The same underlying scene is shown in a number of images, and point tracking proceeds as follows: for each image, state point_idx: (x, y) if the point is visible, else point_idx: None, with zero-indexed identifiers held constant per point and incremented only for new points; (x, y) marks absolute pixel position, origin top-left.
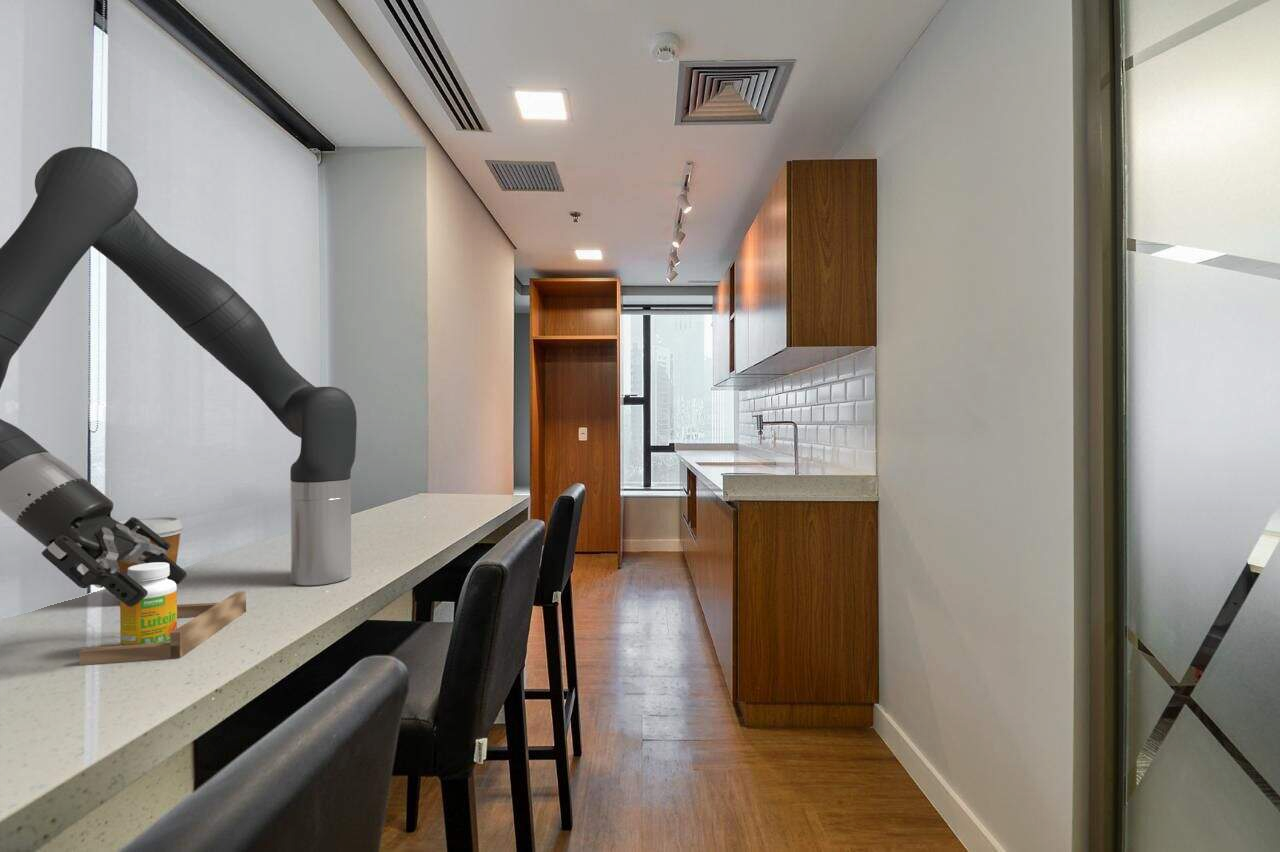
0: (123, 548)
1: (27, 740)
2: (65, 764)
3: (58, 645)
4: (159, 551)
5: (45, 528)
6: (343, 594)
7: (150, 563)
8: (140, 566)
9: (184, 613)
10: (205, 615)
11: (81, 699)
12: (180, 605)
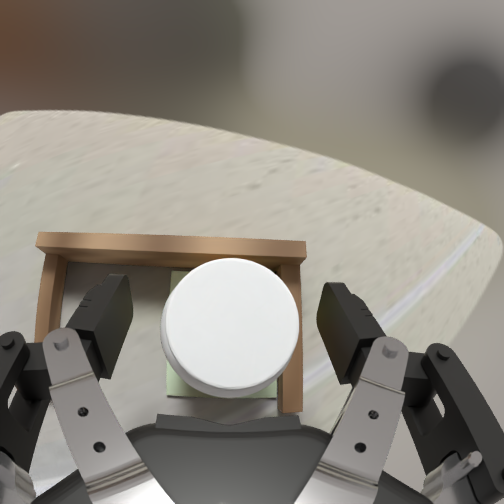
0: (244, 431)
1: (471, 296)
2: (486, 240)
3: None
4: (76, 345)
5: None
6: (43, 138)
7: (185, 338)
8: (236, 351)
9: None
10: (200, 238)
11: (413, 310)
12: None
